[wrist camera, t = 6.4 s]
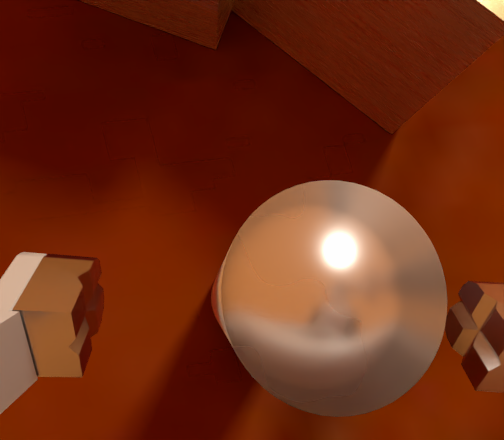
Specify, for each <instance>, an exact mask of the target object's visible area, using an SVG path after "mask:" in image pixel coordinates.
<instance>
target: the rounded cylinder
mask: <svg viewBox="0 0 504 440" xmlns="http://www.w3.org/2000/svg"><path fill="white" fill-rule="evenodd" d="M211 305H212V310H213V313H214V315H215V318H216V320H217V321H218V323H219V325H220V326H221V328H222V330H223V332H224V333H225V335H226V337H227V338H228V340H229V342H230V344H231V345H232V347H233V349H234V350H235V352H236V354H237V356H238V357H239V359H240V361H241V362H242V364H243V365H244V366H245V368H246V369H247V370H248V372H249V373H250V374H251V376H252V377H253V378H254V379H255V380H256V381H257V382H258V383H259V384H260V385H261V386H262V387H263V388H264V389H266V390H267V391H268V392H270V393H271V394H272V395H274V396H275V397H276V398H278V399H280V400H281V401H283V402H285V403H287V404H288V405H290V406H293V407H295V408H298V409H300V410H303V411H306V412H310V413H314V414H318V415H325V416H335V417H338V416H353V415H359V414H364V413H368V412H371V411H374V410H376V409H379V408H382V407H384V406H386V405H388V404H389V403H391V402H393V401H395V400H396V399H398V398H399V397H401V396H402V395H403V394H405V393H406V392H407V391H408V390H409V389H410V388H412V387H413V386H414V385H415V384H416V383H417V382H418V381H419V379H420V378H421V377H422V376H423V374H424V373H425V372H426V370H427V369H428V367H429V366H430V364H431V362H432V361H433V359H434V357H435V355H436V353H437V350H438V348H439V346H440V343H441V340H442V336H443V333H444V329H445V323H446V316H447V291H446V282H445V278H444V273H443V269H442V266H441V263H440V260H439V257H438V255H437V253H436V251H435V249H434V246H433V244H432V242H431V241H430V239H429V238H428V236H427V234H426V233H425V231H424V230H423V228H422V227H421V226H420V225H419V224H418V222H417V221H416V220H415V219H414V218H413V217H412V216H411V215H410V214H409V213H408V212H407V211H406V210H405V209H404V208H403V207H402V206H400V205H399V204H398V203H396V202H395V201H394V200H392V199H391V198H389V197H387V196H385V195H384V194H382V193H380V192H378V191H376V190H373V189H371V188H369V187H366V186H363V185H359V184H356V183H352V182H345V181H339V180H322V181H313V182H308V183H304V184H300V185H296V186H294V187H291V188H289V189H286V190H284V191H282V192H280V193H278V194H276V195H275V196H273V197H271V198H270V199H269V200H267V201H266V202H265V203H263V204H262V205H261V206H259V207H258V208H257V209H256V210H255V211H254V212H253V213H252V214H251V215H250V216H249V218H248V219H247V220H246V221H245V223H244V224H243V225H242V227H241V228H240V230H239V231H238V233H237V235H236V237H235V238H234V240H233V242H232V244H231V246H230V248H229V250H228V253H227V255H226V257H225V259H224V261H223V263H222V265H221V267H220V270H219V272H218V274H217V276H216V278H215V280H214V283H213V286H212V291H211Z"/></svg>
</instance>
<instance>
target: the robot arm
mask: <svg viewBox="0 0 504 440" xmlns="http://www.w3.org/2000/svg"><path fill="white" fill-rule="evenodd" d="M100 275H101V266H100V260H99V259H98V258H93V257H81V256H69V255H57V254H41V253H28V252H22V253H20V254H18V255H17V256H16V257H15V258H14V260H13V261H12V263H11V264H10V266H9V267H8V269H7V270H6V272H5V273H4V275H3V276H2V277H1V279H0V414H1V413H2V412H3V411H4V410H5V409H6V408H7V407H8V406H10V405H11V404H12V403H13V402H14V401H15V400H16V399H17V398H18V397H19V396H20V395H21V394H22V393H23V392H25V391H26V390H27V389H28V388H29V387H30V386H31V385H32V384H33V383H34V382H35V381H36V380H37V379H38V378H37V377H83V374H84V371H85V368H86V366H87V363H88V360H89V357H90V354H91V351H92V345H91V337H92V336H93V335H95V334H96V333H97V332H98V330H99V327H100V324H101V321H102V315H103V309H104V291H103V288H102V287H101V286H100V285H99V284H98V281H99V278H100ZM458 295H459V297H460V300H461V301H460V302H458V303H457V304H455V305H454V306H452V307H451V308H450V310H449V312H448V314H447V317H446V323H445V331H446V335H447V339H448V341H449V343H450V344H451V346H452V348H453V349H454V350H456V351H457V352H458V353H459V354H461V355H462V356H463V359H462V363H461V365H462V367H463V369H464V370H465V372H466V374H467V376H468V378H469V380H470V381H471V383H472V385H473V387H474V389H475V391H489V392H504V283H494V282H476V281H468V282H467V283H466V284H464V285H463V286H462V288H461V290H460V291H459V293H458Z"/></svg>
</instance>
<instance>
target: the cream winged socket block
mask: <svg viewBox="0 0 504 440" xmlns="http://www.w3.org/2000/svg"><path fill="white" fill-rule="evenodd" d="M79 1H82V2H85V3H87V4H90V5H93V6H96V7H98V8H101V9H104V10H107V11H109V12H112V13H115V14H118V15H120V16H123V17H126V18H129V19H131V20H134V21H137V22H140V23H143V24H145V25H148V26H151V27H154V28H156V29H159V30H162V31H165V32H167V33H170V34H173V35H176V36H178V37H181V38H184V39H187V40H189V41H192V42H195V43H198V44H201V45H203V46H206V47H209V48H212V49H214V50H216V48H217V46H218V43H219V41H220V38H221V36H222V33H223V31H224V28H225V25H226V23H227V20H228V18H229V15H230V13H231V10H232V11H233V12H234V13H236V14H237V15H238V16H239V17H241V18H242V19H243V20H245V21H246V22H247V23H248V24H250V25H251V26H252V27H254V28H255V29H256V30H257V31H259V32H260V33H261V34H263V35H264V36H265V37H266V38H268V39H269V40H270V41H272V42H273V43H274V44H275V45H277V46H278V47H279V48H281V49H282V50H283V51H284V52H286V53H287V54H288V55H290V56H291V57H292V58H293V59H295V60H296V61H297V62H299V63H300V64H301V65H302V66H304V67H305V68H306V69H308V70H309V71H310V72H311V73H313V74H314V75H315V76H317V77H318V78H319V79H320V80H322V81H323V82H324V83H326V84H327V85H328V86H329V87H331V88H332V89H333V90H335V91H336V92H337V93H338V94H340V95H341V96H342V97H344V98H345V99H346V100H347V101H349V102H350V103H351V104H353V105H354V106H355V107H356V108H358V109H359V110H360V111H362V112H363V113H364V114H365V115H367V116H368V117H369V118H371V119H372V120H373V121H374V122H376V123H377V124H378V125H380V126H381V127H382V128H383V129H385V130H386V131H387V132H389V133H390V134H393V133H394V132H395V131H396V130H397V129H398V128H399V127H400V126H402V125H403V124H404V123H405V122H406V121H407V120H408V119H410V118H411V117H412V116H413V115H414V114H415V113H416V112H417V111H419V110H420V109H421V108H422V107H423V106H424V105H425V104H426V103H428V102H429V101H430V100H431V99H432V98H433V97H434V96H436V95H437V94H438V93H439V92H440V91H441V90H442V89H443V88H445V87H446V86H447V85H448V84H449V83H450V82H451V81H452V80H454V79H455V78H456V77H457V76H458V75H459V74H460V73H461V72H463V71H464V70H465V69H466V68H467V67H468V66H469V65H471V64H472V63H473V62H474V61H475V60H476V59H477V58H478V57H480V56H481V55H482V54H483V53H484V52H485V51H486V50H487V49H489V48H490V47H491V46H492V45H493V44H494V43H495V42H497V41H498V40H499V39H500V38H501V37H502V36H503V35H504V0H79Z"/></svg>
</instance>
